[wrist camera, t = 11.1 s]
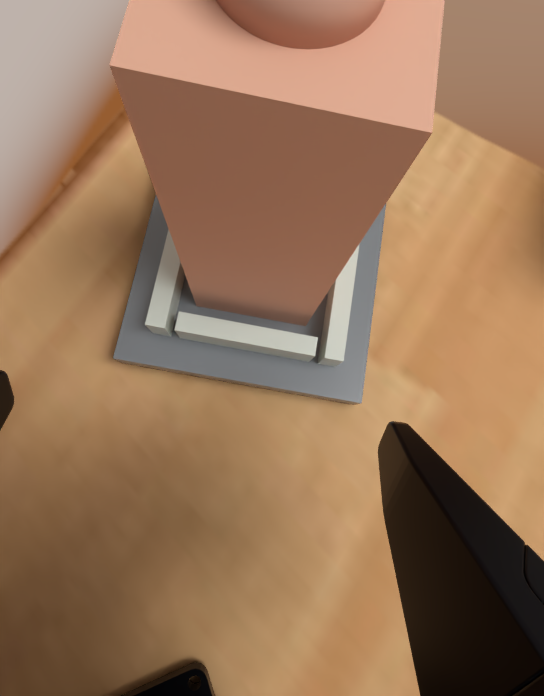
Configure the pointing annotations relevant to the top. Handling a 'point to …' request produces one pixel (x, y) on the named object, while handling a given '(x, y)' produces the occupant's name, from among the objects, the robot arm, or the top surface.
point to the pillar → (275, 134)
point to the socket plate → (251, 327)
